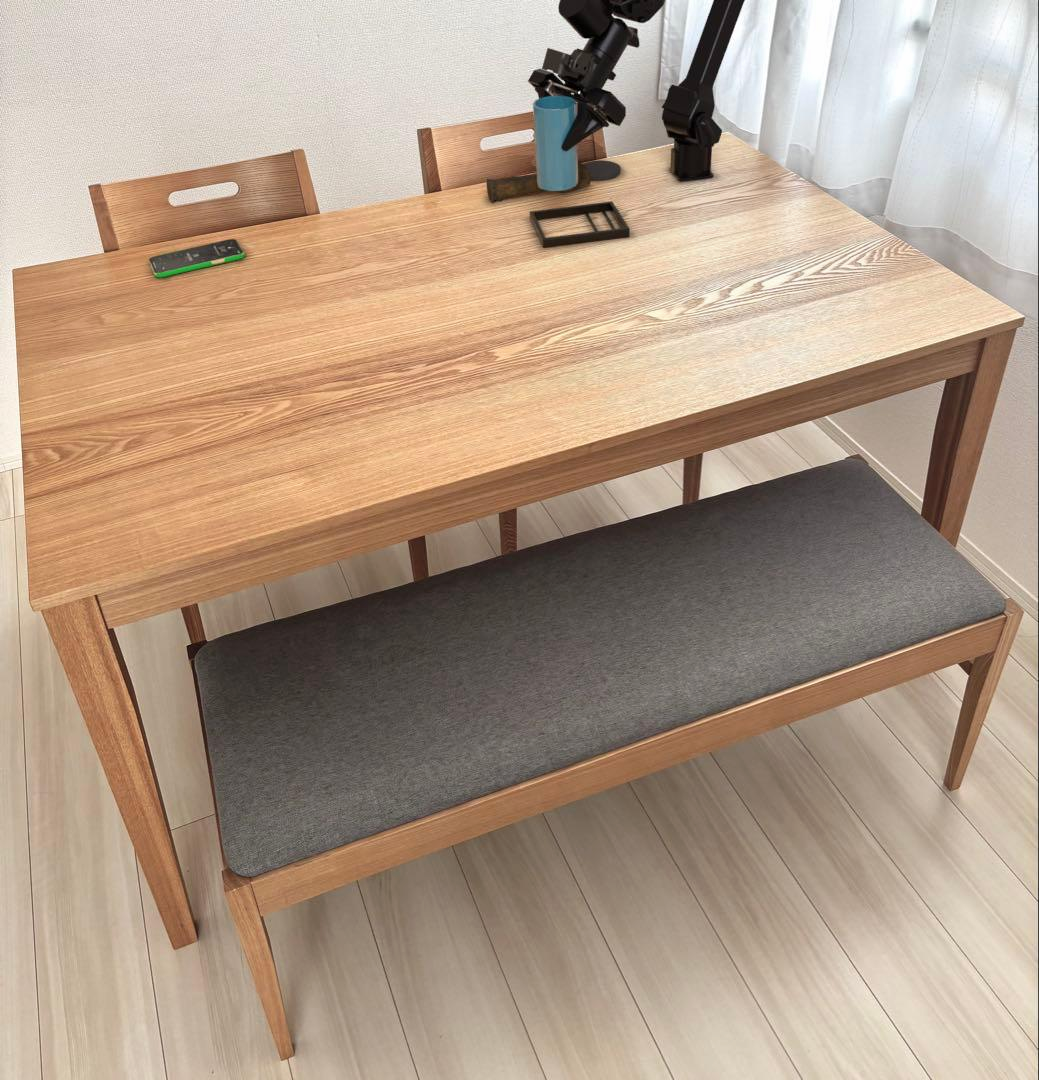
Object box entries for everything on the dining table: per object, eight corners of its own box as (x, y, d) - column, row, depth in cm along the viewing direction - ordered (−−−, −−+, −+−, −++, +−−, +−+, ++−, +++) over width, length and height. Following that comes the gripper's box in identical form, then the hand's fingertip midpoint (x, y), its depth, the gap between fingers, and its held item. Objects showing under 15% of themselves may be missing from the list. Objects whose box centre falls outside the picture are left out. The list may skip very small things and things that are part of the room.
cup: (575, 173, 177) (573, 93, 169) (580, 189, 172) (578, 107, 163) (535, 177, 177) (531, 97, 169) (538, 192, 172) (534, 111, 163)
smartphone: (147, 257, 176) (235, 236, 180) (148, 262, 176) (236, 242, 180) (154, 274, 170) (245, 253, 174) (156, 280, 171) (246, 258, 175)
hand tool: (490, 205, 187) (488, 180, 184) (486, 197, 190) (484, 171, 187) (593, 192, 189) (593, 167, 186) (588, 184, 192) (588, 159, 189)
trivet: (614, 162, 199) (614, 158, 199) (625, 177, 193) (625, 173, 193) (573, 167, 198) (573, 163, 198) (582, 183, 192) (582, 178, 192)
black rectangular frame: (612, 209, 183) (612, 201, 182) (629, 237, 174) (629, 228, 173) (530, 219, 181) (529, 211, 180) (543, 248, 172) (542, 239, 171)
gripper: (534, 14, 167) (483, 103, 169) (611, 36, 155) (556, 131, 157) (573, 55, 175) (525, 139, 178) (650, 79, 164) (597, 169, 166)
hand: (549, 144), depth 169 cm, fingers closed on cup, 7 cm apart
